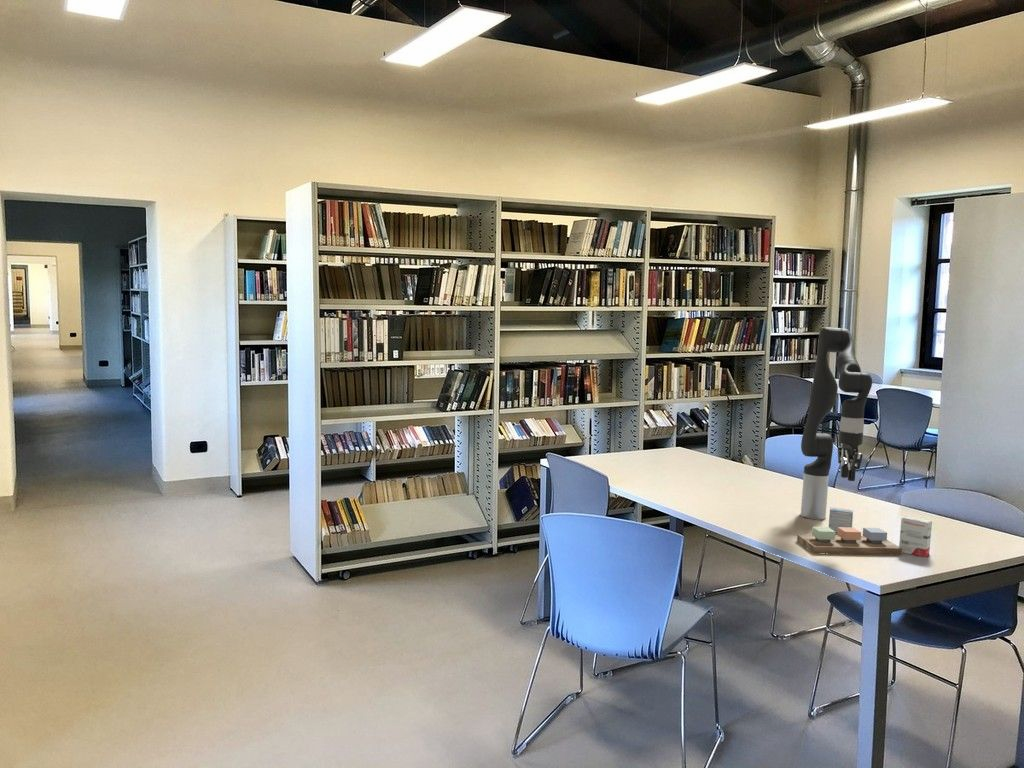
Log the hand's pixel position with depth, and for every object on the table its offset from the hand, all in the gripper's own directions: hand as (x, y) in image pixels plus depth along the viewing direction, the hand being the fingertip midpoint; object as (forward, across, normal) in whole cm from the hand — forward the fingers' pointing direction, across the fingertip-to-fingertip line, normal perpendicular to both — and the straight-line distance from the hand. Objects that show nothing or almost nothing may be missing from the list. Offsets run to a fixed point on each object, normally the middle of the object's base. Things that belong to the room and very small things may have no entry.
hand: (847, 478), depth 273 cm
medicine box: (+24, -15, +6) cm, 29 cm away
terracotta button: (+20, +4, 0) cm, 20 cm away
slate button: (+20, +4, +9) cm, 22 cm away
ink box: (+24, +8, +21) cm, 33 cm away
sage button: (+20, +4, -9) cm, 22 cm away
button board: (+23, +4, 0) cm, 24 cm away
